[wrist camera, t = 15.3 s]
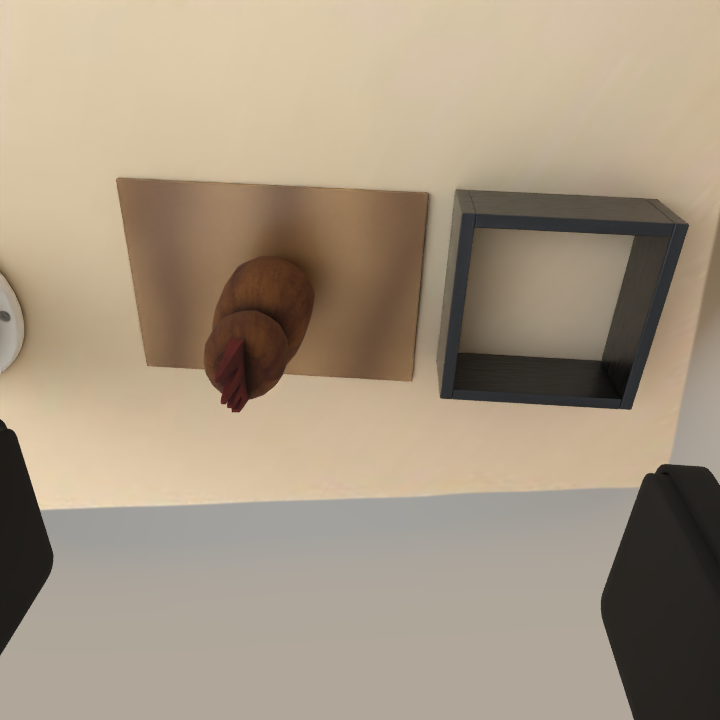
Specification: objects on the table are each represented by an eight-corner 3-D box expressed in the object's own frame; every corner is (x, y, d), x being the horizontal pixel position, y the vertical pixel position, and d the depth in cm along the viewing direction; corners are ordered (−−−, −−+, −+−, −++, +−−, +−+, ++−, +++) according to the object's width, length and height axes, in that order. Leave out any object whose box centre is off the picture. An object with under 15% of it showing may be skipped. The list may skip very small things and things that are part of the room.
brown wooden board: (148, 363, 47) (146, 366, 47) (118, 177, 40) (115, 179, 39) (411, 378, 46) (411, 381, 46) (428, 192, 39) (428, 194, 39)
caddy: (436, 360, 45) (440, 398, 41) (455, 189, 39) (462, 213, 35) (609, 370, 45) (631, 410, 41) (657, 198, 38) (689, 224, 34)
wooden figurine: (249, 228, 41) (178, 335, 28) (331, 261, 41) (299, 380, 29) (222, 313, 44) (147, 444, 31) (298, 342, 45) (256, 481, 32)
